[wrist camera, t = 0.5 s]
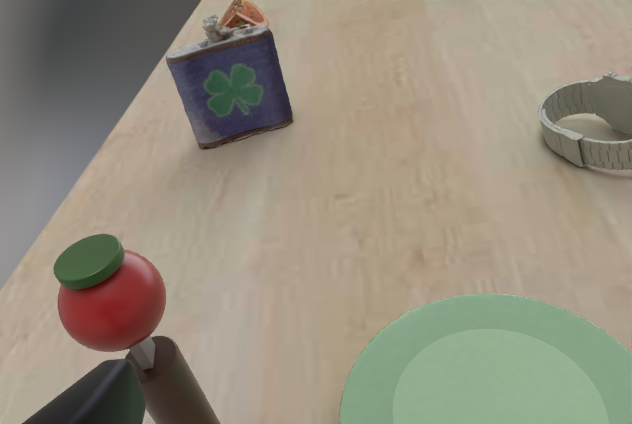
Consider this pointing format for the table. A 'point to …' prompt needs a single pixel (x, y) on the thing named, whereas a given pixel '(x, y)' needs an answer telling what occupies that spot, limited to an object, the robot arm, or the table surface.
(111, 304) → the strawberry fork
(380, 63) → the table surface
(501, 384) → the plate
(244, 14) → the fruit slice
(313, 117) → the table surface
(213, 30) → the flask
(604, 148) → the wristwatch
